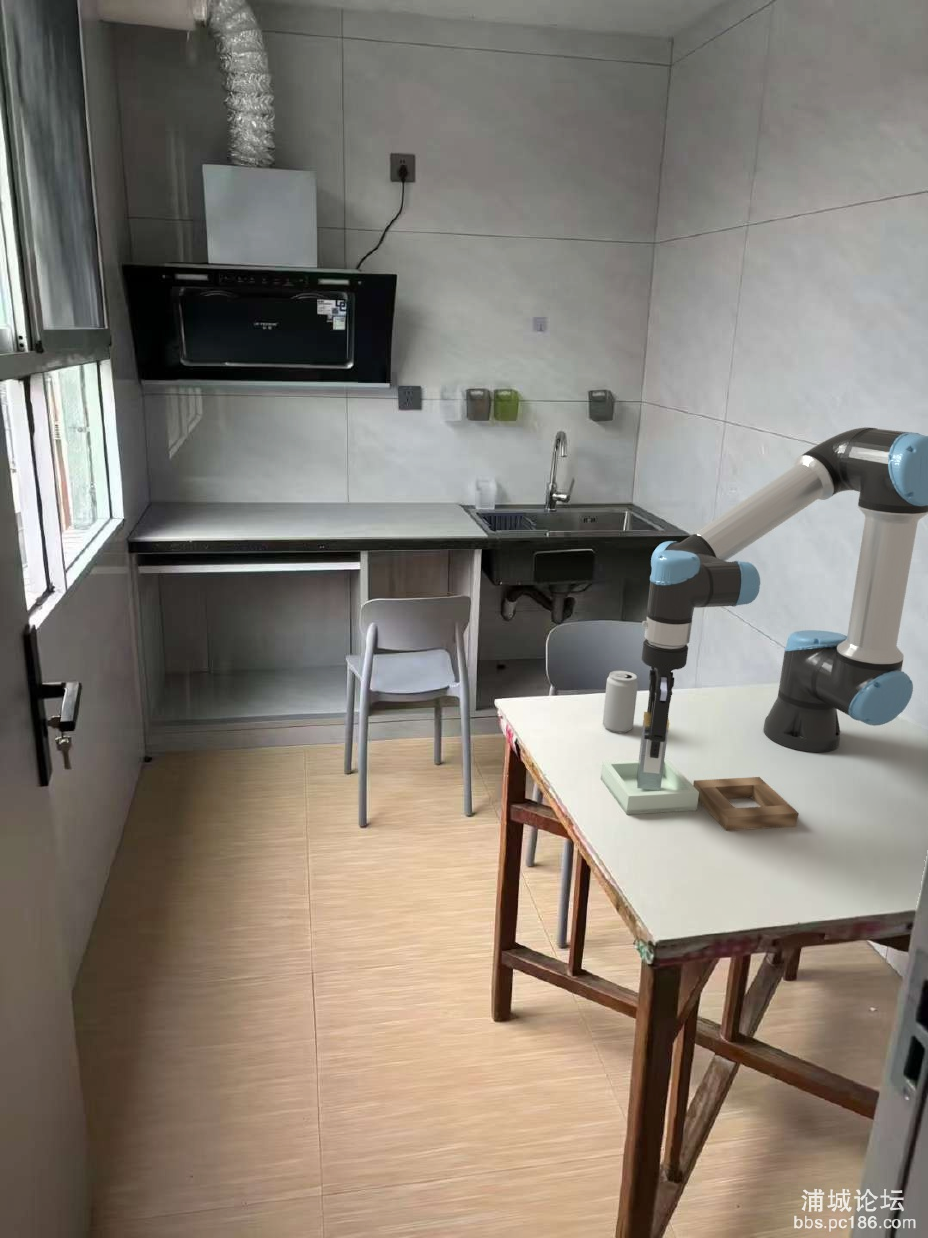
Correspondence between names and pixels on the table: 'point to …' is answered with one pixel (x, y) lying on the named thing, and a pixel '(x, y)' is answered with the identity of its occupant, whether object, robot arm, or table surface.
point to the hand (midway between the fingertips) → (650, 765)
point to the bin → (638, 801)
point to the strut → (644, 778)
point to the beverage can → (620, 701)
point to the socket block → (732, 818)
